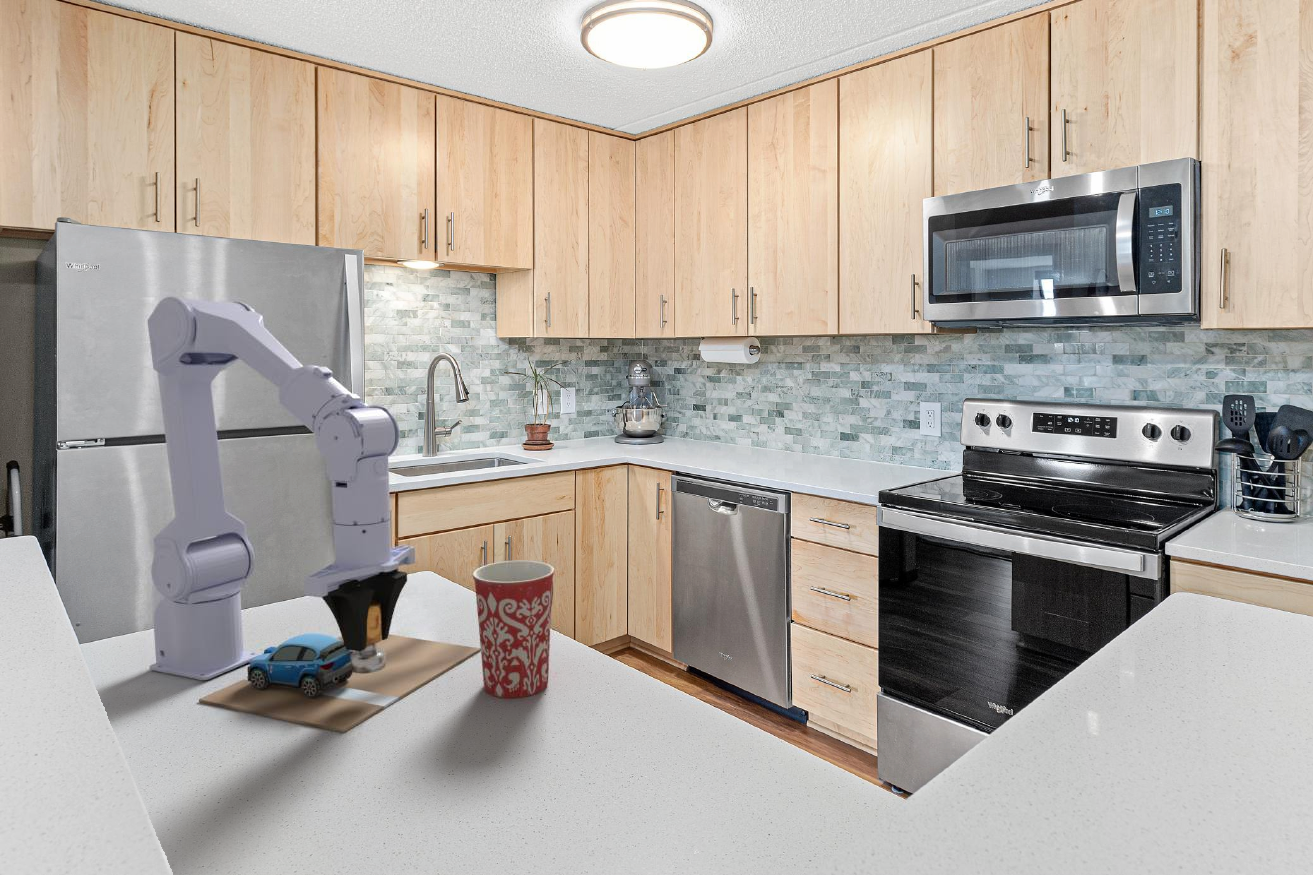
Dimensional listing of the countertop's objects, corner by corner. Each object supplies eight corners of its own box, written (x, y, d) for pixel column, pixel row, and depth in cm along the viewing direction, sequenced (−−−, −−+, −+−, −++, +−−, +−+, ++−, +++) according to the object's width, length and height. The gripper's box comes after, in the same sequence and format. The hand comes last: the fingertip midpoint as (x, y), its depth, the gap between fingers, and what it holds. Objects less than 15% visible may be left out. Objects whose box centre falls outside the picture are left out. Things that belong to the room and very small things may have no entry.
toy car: (278, 669, 94) (276, 623, 94) (364, 680, 91) (362, 632, 90) (239, 688, 88) (236, 639, 88) (329, 701, 85) (326, 650, 84)
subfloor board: (199, 701, 86) (198, 699, 86) (356, 631, 108) (356, 629, 108) (343, 732, 79) (343, 729, 79) (480, 650, 101) (480, 648, 101)
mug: (530, 708, 84) (528, 584, 83) (459, 695, 88) (456, 576, 86) (584, 665, 96) (583, 557, 95) (519, 655, 99) (518, 550, 98)
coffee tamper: (344, 672, 84) (342, 609, 83) (360, 660, 88) (358, 598, 87) (376, 674, 84) (374, 610, 83) (391, 661, 87) (389, 599, 87)
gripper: (342, 537, 76) (347, 673, 77) (435, 510, 90) (439, 626, 91) (286, 531, 79) (292, 663, 80) (385, 506, 92) (389, 619, 93)
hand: (367, 643), depth 86 cm, fingers closed on coffee tamper, 3 cm apart
